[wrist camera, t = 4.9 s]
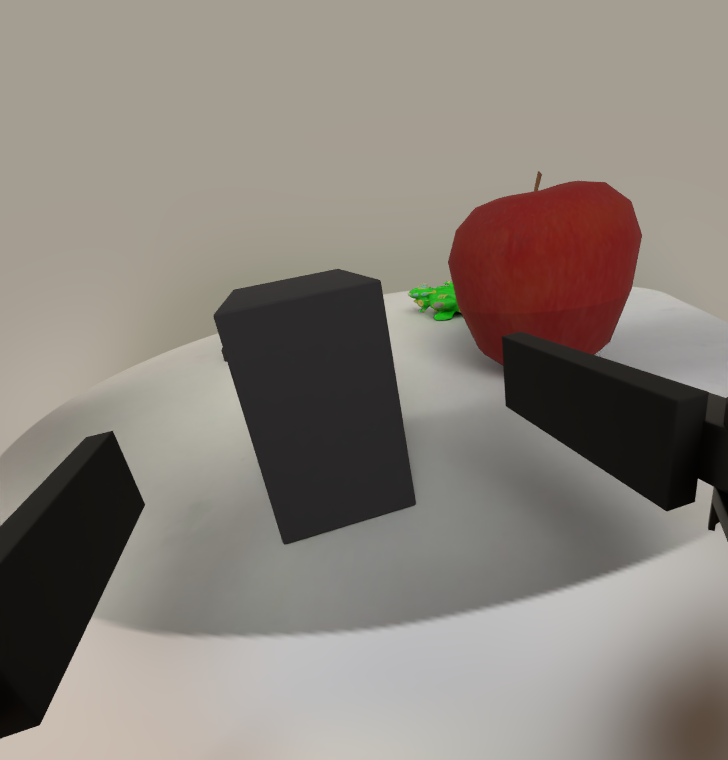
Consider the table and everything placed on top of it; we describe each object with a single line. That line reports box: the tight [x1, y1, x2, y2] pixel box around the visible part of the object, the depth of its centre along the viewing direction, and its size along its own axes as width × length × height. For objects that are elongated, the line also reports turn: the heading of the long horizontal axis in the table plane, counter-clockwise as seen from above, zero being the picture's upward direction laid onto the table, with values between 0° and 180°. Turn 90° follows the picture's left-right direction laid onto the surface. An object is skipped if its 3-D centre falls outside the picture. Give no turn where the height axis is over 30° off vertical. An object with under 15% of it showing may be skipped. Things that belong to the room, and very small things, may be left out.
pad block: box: [214, 269, 416, 544], centre depth 20 cm, size 6×9×10 cm, turn 13°
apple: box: [448, 172, 642, 365], centre depth 28 cm, size 12×12×13 cm
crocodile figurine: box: [408, 281, 461, 320], centre depth 48 cm, size 7×18×4 cm, turn 46°
